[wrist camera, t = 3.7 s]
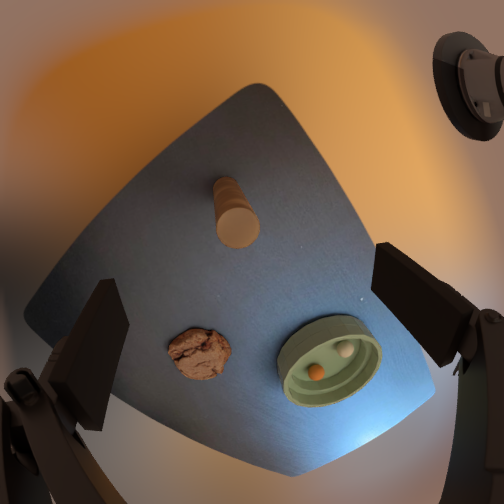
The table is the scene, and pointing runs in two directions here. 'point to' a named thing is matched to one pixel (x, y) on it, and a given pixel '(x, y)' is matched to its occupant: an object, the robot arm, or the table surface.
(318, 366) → the orange ball
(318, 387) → the bowl
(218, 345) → the cookie
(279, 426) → the table surface
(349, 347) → the cream ball
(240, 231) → the stick
